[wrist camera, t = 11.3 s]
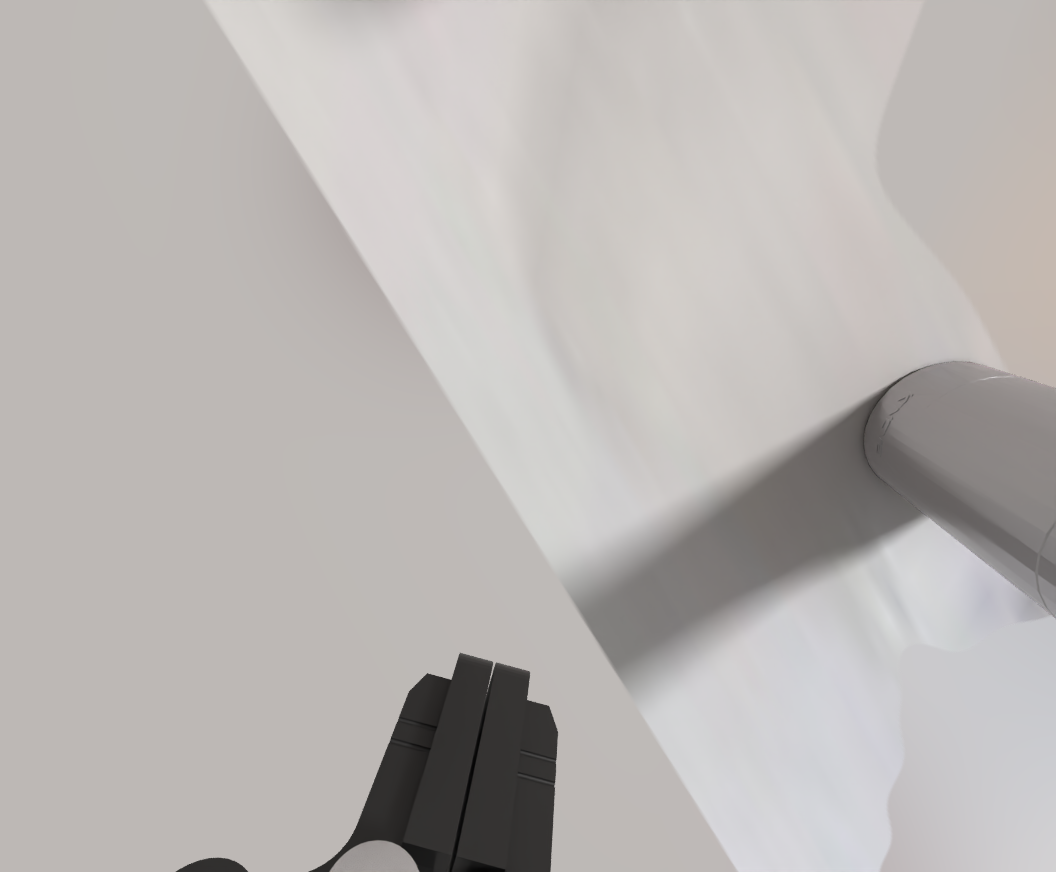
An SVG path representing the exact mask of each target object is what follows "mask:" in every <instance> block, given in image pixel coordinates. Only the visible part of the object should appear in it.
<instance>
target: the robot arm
mask: <svg viewBox="0 0 1056 872" xmlns="http://www.w3.org/2000/svg"><path fill="white" fill-rule="evenodd" d="M864 448H865V455H866V458H867V460H868V463H869V465H870V467H871V468H872V470H873V471H874V472H875V474H876V475H877V476H878V477H879V478H881V479H882V480H883V481H884V482H886V483H887V484H888V485H889V486H890V487H892V488H893V489H894V490H895V491H897V492H898V493H899V494H900V495H902V496H903V497H904V498H905V499H907V500H908V501H909V502H910V503H912V504H913V505H914V506H915V507H916V508H917V509H919V510H920V511H921V512H922V513H924V514H925V515H926V516H927V517H929V518H930V519H931V520H932V521H934V522H935V523H936V524H937V525H939V526H940V527H941V528H942V529H944V530H945V531H946V532H947V533H949V534H950V535H951V536H952V537H954V538H955V539H956V540H958V541H959V542H960V543H961V544H963V545H964V546H965V547H966V548H968V549H969V550H970V551H971V552H973V553H974V554H975V555H976V556H978V557H979V558H980V559H981V560H983V561H984V562H985V563H986V564H988V565H989V566H990V567H991V568H993V569H994V570H995V571H996V572H998V573H999V574H1000V575H1002V576H1003V577H1004V578H1005V579H1007V580H1008V581H1009V582H1010V583H1012V584H1013V585H1014V586H1015V587H1017V588H1018V589H1019V590H1020V591H1022V592H1023V593H1024V594H1025V595H1027V596H1028V597H1029V598H1030V599H1032V600H1033V601H1034V602H1035V603H1037V604H1038V605H1039V606H1040V607H1042V608H1043V609H1044V610H1046V611H1047V612H1048V613H1049V614H1051V615H1052V616H1053V617H1054V618H1056V388H1054V387H1050V386H1047V385H1044V384H1041V383H1038V382H1035V381H1032V380H1029V379H1026V378H1023V377H1019V376H1016V375H1013V374H1010V373H1006V372H1003V371H1000V370H997V369H994V368H990V367H987V366H984V365H980V364H976V363H972V362H957V361H952V362H946V363H939V364H935V365H932V366H929V367H926V368H923V369H920V370H918V371H916V372H914V373H912V374H910V375H908V376H907V377H905V378H903V379H902V380H901V381H899V382H898V383H897V384H895V385H894V386H893V387H891V388H890V389H889V390H888V391H887V393H886V394H885V395H884V396H883V397H882V398H881V399H880V400H879V402H878V403H877V405H876V406H875V408H874V409H873V411H872V413H871V414H870V417H869V420H868V422H867V425H866V428H865V435H864ZM492 666H493V662H492V661H488V660H484V659H481V658H477V657H473V656H470V655H466V654H462V653H460V654H459V657H458V660H457V664H456V667H455V670H454V674H453V677H452V680H450V679H446V678H442V677H439V676H435V675H431V674H428V673H427V674H426V675H425V676H424V677H423V678H422V679H421V680H420V681H419V682H418V683H417V684H416V685H415V686H414V687H413V688H412V689H411V690H410V691H409V693H408V696H407V698H406V701H405V703H404V706H403V708H402V711H401V714H400V716H399V719H398V722H397V724H396V726H395V729H394V732H393V734H392V737H391V740H390V743H389V744H388V747H387V749H386V752H385V755H384V757H383V760H382V762H381V765H380V767H379V770H378V773H377V775H376V778H375V780H374V783H373V785H372V788H371V791H370V793H369V796H368V798H367V801H366V803H365V806H364V809H363V811H362V814H361V816H360V819H359V822H358V824H357V826H356V829H355V830H354V833H353V834H352V836H351V838H350V839H349V841H348V842H347V843H346V845H345V846H344V847H343V848H342V850H341V851H340V852H339V853H338V854H336V855H335V857H333V858H332V859H331V860H329V861H328V862H327V863H325V864H324V865H322V866H320V867H318V868H316V869H314V870H312V871H309V872H550V868H551V849H552V831H553V812H554V795H555V788H554V785H555V776H556V757H557V738H558V731H557V728H556V725H555V722H554V719H553V716H552V713H551V710H550V707H549V706H547V705H543V704H539V703H536V702H532V701H528V700H527V695H528V687H529V678H530V672H529V671H526V670H522V669H518V668H515V667H511V666H507V665H504V664H500V663H496V664H495V667H494V670H493V675H492V678H491V681H490V684H489V680H490V676H491V671H492ZM488 685H489V688H488ZM487 690H488V691H487ZM486 694H487V695H486ZM176 872H248V871H247V870H246V869H245V868H244V867H243V866H242V865H240V864H239V863H237V862H235V861H232V860H230V859H225V858H208V859H204V860H200V861H197V862H194V863H191V864H189V865H187V866H185V867H183V868H181V869H179V870H178V871H176Z"/></svg>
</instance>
